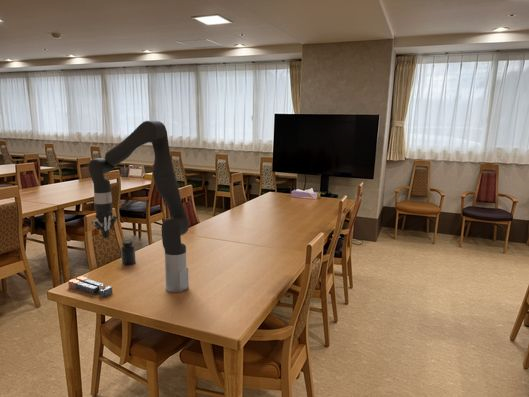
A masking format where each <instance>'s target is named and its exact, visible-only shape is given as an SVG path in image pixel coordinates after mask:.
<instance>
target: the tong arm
mask: <svg viewBox="0 0 529 397" xmlns="http://www.w3.org/2000/svg"><path fill="white" fill-rule="evenodd" d="M75 279H76V280H79V281H81V282H83V283H87V284H90V285H93V286H97V287H98V293H99V285H100V284H103V283H102V282H98V281H96V280H92V279H89V277H85V276H82V275H80V276H78V277H75Z"/></svg>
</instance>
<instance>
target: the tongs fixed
mask: <svg viewBox="0 0 529 397" xmlns="http://www.w3.org/2000/svg"><path fill="white" fill-rule="evenodd" d="M67 282H68V288H69V289H71V290H75V291H79V292H83V293H86V294H89V295H92V296H95V295H98V294H99V297H100V298H106V297H108V296H110V295H112V294H113V286H110V285H108V286H106V284H105V283H102V284H100V285H99V292H98V287H97V286H93V285H90V284H87V283H83V282H81V281H79V280H76V278H72V279H69V280H68V281H67Z"/></svg>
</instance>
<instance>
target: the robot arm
mask: <svg viewBox="0 0 529 397" xmlns="http://www.w3.org/2000/svg"><path fill="white" fill-rule="evenodd" d="M148 143H151V145H152V148H153V154H154V160H153V168H152V176H153V181H154V185H155V189H156V191H157V193H158V195H159V196H160V197H161V198H162V200H163V201H164V202H165V204H166V205H167V209H168V211H169V218H166V219H164V220H163V222H162V224H161V239H162V240H161V241H162V246H163V249H164V265H165V266H164V268H165V270H164V271H165V290H166V291H167V292H169V293H182V292H184V291H186V290H187V289H188V288H189V286H190V285H189V279H190V278H189V268H188V267H187V246H186V244H185V243H183V242H182V238H181V236H183V235H186V233H187V232H188V231H189V227H190V226H189V224H190V223H189V220H188V216H187V214H186V211H185V208H184V205H183V202H182V199H181V195H180V190H179V186H178V181H177V177H176V172H175V170H174V165H173V160H172V157H171V152H170V147H169V146H170V145H169V138H168V131H167V128H166V126H165V124H164V123H163V122H162V121H159V120H145V121H142V122H141V123H140V124H139V125H138V126H137V127H136V128H135V129H134V130H133V131H132V132H131V133H130V134H129V135H128V136H127V137H126V138H124V139H123V140H122V141H121V142H119V143H118V144H116V145H115V146H113V147H111V148H110V149H109V150H108V151H107V152H105V154H104V157H100V158H92V159H90V161H89V162H88V168H87V169H88V172H89V175H90V178H91V181H92V183H93V202H94V203H93V204H94V212H95V219H94V220H91V224H92V225H93V226H94V227H95V228H96V229H97V230H99V231H101V236H102V238H103V239H108V238H109V237H110V229H112V228H113V227H114V225H115V222H116V221H117V219H118V216H117V215H114V214H113V196H112V192H111V191H112V190H111V189H112V188H111V181H110V180H109V179H108V178H105V176H104V174H107V173H110V172H112V171H113V170H114V169H115V168H116V167H117V166H118V165H120V164H121V163H122V162H124V161H125V160H126V159H128V158H129V157H130V156H132V154H133V153H134V151H135V150H136V149H139V147H141V146H143V145H146V144H148Z"/></svg>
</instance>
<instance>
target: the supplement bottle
mask: <svg viewBox="0 0 529 397" xmlns="http://www.w3.org/2000/svg"><path fill="white" fill-rule="evenodd" d="M135 248H136V247H135V246H134V245H133V241H132V240H131V239H127V240H124V241H122V246H121V248H120V254H121V256H120V257H121V264H122V265H123V266H124V265H125V266H131V265H133V264H135V263H136V249H135Z"/></svg>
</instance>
